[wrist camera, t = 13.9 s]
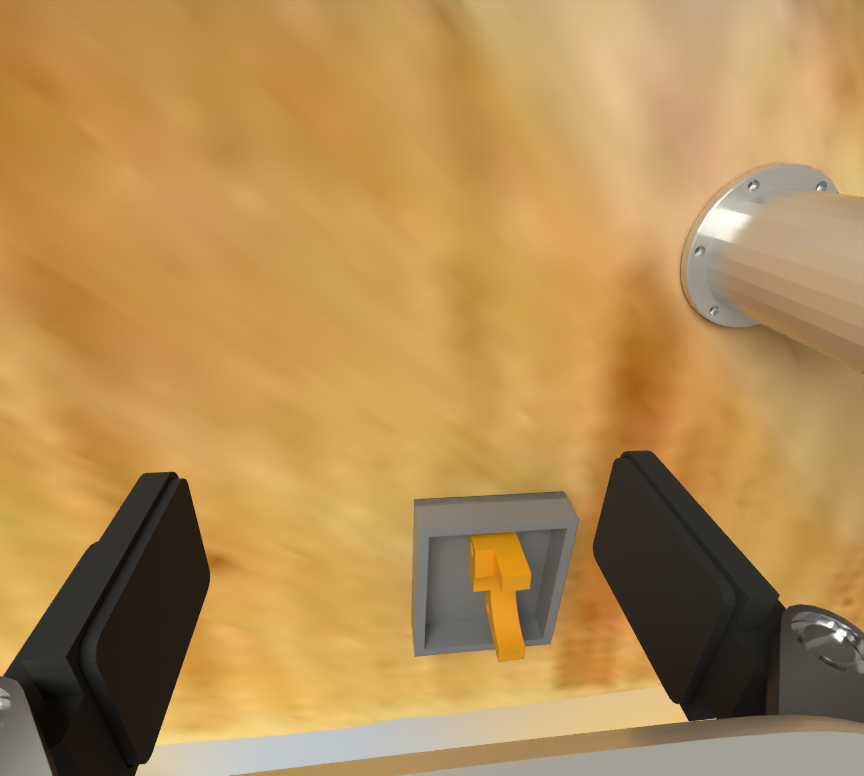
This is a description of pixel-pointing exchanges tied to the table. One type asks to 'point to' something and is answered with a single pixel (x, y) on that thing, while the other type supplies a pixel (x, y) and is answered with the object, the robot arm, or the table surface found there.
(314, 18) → the table surface
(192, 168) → the table surface
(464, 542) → the tray
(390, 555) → the table surface
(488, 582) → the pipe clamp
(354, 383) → the table surface
